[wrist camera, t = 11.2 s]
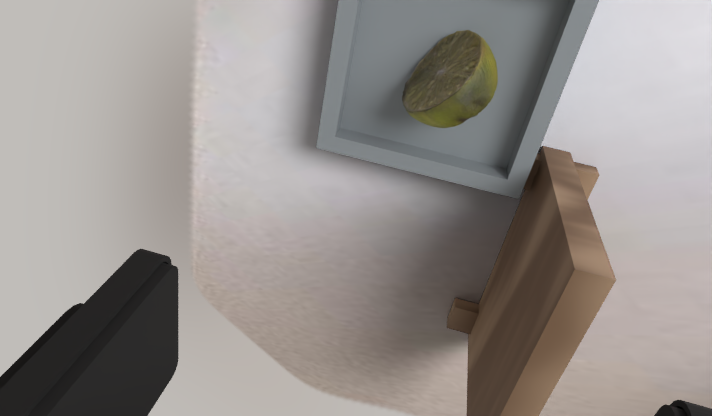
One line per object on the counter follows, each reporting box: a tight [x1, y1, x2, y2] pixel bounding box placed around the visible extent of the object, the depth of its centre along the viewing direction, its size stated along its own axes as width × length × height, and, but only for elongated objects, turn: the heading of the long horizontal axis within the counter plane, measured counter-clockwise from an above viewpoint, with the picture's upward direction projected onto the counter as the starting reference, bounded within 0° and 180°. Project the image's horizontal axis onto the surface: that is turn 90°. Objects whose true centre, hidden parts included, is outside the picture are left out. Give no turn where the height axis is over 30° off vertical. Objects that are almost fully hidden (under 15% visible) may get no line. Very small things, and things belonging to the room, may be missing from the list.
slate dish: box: [316, 0, 599, 199], centre depth 28 cm, size 12×12×2 cm
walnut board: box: [447, 146, 616, 416], centre depth 30 cm, size 5×15×12 cm, turn 170°
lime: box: [402, 30, 498, 128], centre depth 27 cm, size 4×5×5 cm
